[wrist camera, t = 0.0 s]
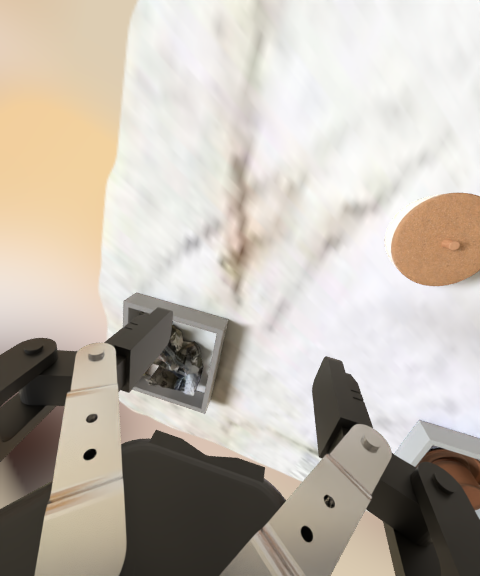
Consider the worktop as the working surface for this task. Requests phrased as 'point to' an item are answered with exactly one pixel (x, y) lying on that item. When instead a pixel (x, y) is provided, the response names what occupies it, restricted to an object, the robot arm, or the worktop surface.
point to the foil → (178, 365)
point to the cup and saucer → (459, 471)
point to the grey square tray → (436, 443)
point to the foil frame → (187, 317)
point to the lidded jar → (436, 239)
